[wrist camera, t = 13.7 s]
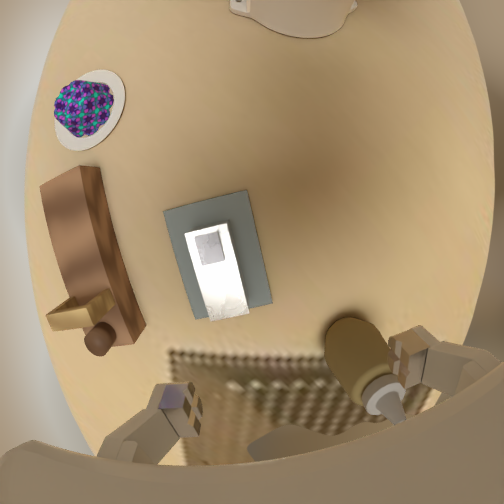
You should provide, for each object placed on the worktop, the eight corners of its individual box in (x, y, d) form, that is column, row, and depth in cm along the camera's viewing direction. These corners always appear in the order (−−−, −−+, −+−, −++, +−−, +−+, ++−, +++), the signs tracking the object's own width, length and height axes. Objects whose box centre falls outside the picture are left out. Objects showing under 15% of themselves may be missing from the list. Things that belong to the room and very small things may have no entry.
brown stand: (61, 185, 30) (9, 188, 19) (99, 167, 29) (49, 162, 19) (106, 331, 34) (72, 371, 24) (146, 325, 34) (117, 370, 24)
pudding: (47, 142, 28) (25, 138, 23) (79, 67, 26) (60, 56, 21) (105, 161, 30) (84, 157, 25) (141, 77, 27) (127, 62, 22)
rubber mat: (165, 211, 31) (163, 211, 30) (246, 189, 31) (246, 190, 30) (196, 316, 34) (195, 319, 33) (271, 300, 34) (272, 303, 33)
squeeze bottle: (369, 349, 37) (426, 429, 19) (319, 363, 37) (358, 458, 19) (369, 302, 35) (444, 377, 17) (314, 317, 35) (364, 411, 17)
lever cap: (191, 228, 31) (183, 235, 26) (228, 219, 31) (226, 224, 26) (214, 306, 33) (209, 324, 28) (248, 299, 33) (249, 316, 28)
